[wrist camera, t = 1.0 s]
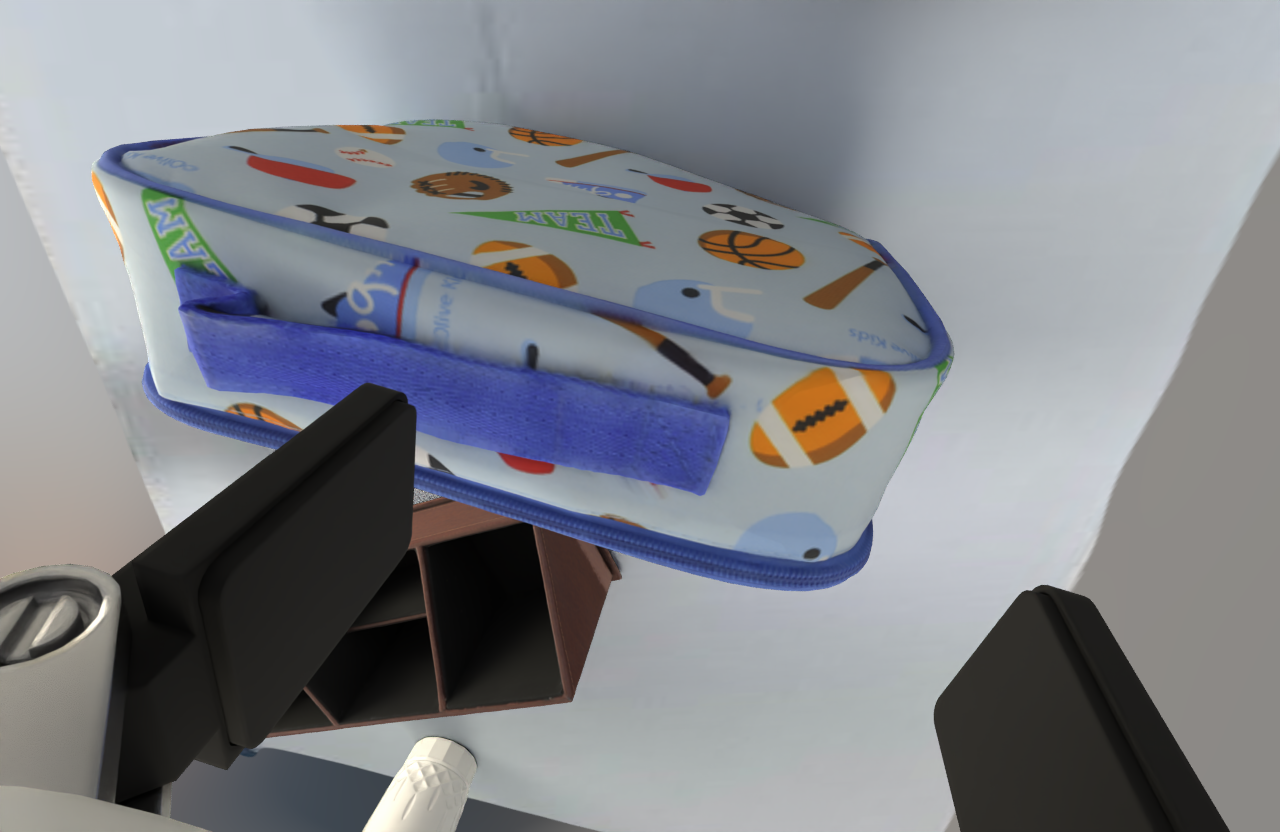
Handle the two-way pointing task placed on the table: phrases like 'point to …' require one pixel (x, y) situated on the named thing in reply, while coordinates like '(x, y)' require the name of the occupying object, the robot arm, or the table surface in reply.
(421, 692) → the desk organizer
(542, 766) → the table surface
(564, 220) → the lunch box
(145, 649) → the robot arm
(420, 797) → the white cup
